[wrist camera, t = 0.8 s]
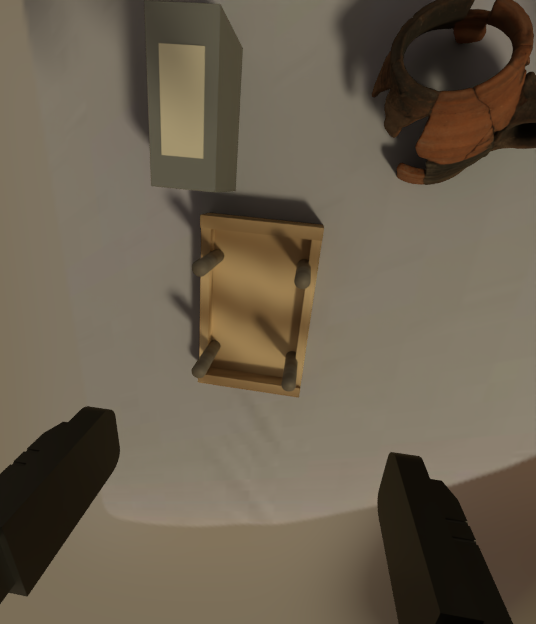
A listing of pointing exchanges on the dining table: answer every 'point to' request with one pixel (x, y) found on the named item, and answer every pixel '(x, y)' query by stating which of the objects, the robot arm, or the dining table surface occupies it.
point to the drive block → (192, 95)
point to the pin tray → (255, 301)
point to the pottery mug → (462, 93)
